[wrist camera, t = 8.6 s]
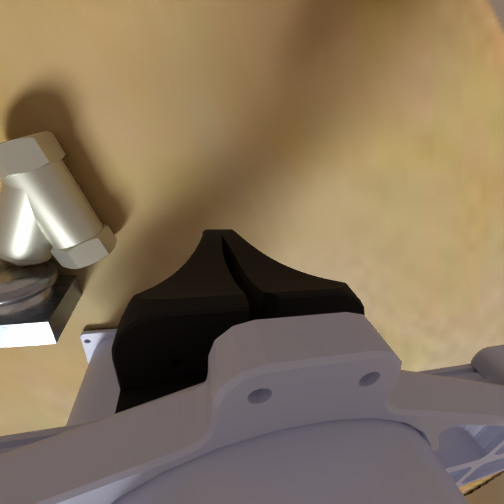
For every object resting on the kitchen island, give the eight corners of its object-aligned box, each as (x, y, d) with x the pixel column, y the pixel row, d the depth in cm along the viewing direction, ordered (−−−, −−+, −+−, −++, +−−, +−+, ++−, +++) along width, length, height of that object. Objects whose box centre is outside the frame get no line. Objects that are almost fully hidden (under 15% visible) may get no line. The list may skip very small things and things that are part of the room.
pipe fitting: (40, 257, 21) (121, 235, 21) (8, 289, 17) (105, 263, 17) (-45, 155, 16) (58, 127, 16) (-109, 172, 13) (20, 137, 13)
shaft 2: (81, 294, 22) (56, 343, 18) (3, 298, 21) (-45, 351, 17) (70, 254, 20) (39, 298, 16) (-16, 255, 19) (-77, 303, 15)
